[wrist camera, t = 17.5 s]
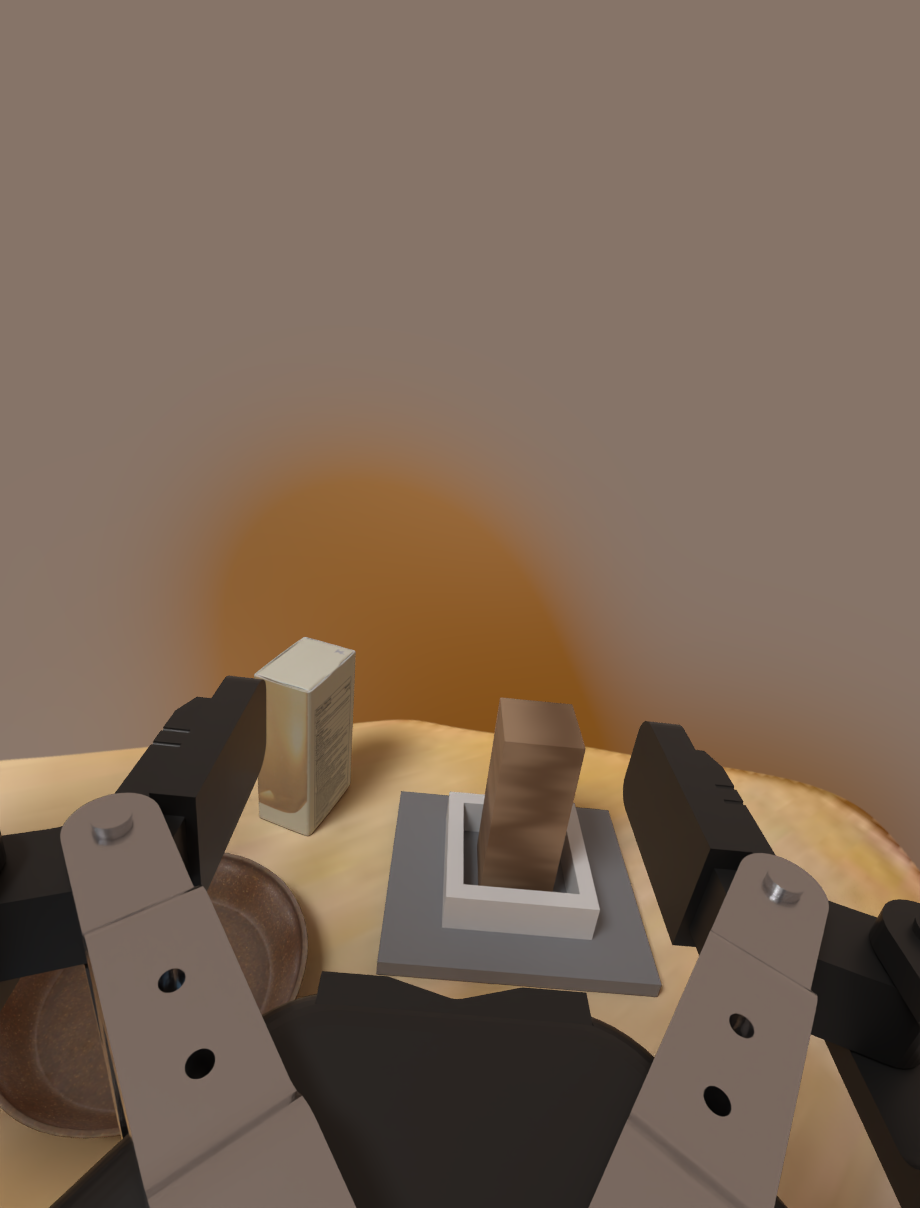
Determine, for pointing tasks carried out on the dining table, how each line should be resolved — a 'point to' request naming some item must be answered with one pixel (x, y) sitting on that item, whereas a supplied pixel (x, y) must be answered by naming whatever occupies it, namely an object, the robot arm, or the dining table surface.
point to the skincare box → (306, 733)
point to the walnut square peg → (528, 794)
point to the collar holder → (510, 907)
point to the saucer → (67, 1021)
